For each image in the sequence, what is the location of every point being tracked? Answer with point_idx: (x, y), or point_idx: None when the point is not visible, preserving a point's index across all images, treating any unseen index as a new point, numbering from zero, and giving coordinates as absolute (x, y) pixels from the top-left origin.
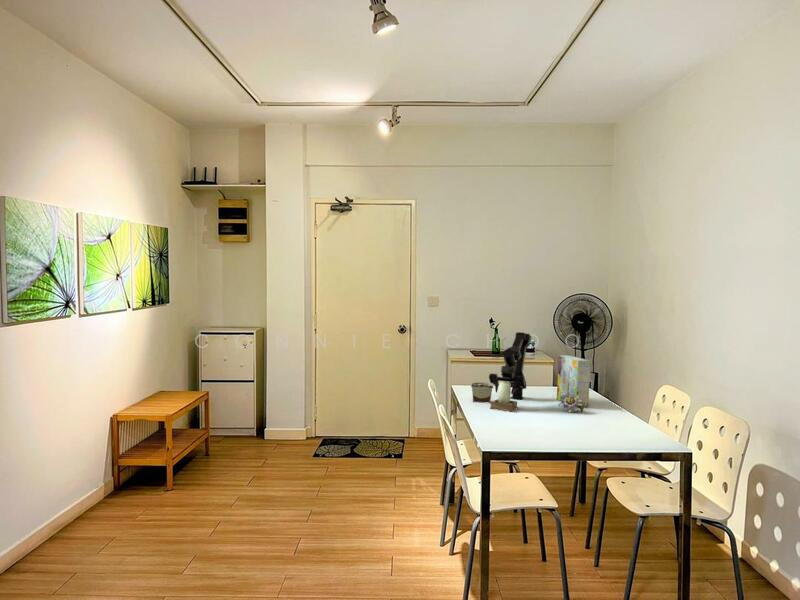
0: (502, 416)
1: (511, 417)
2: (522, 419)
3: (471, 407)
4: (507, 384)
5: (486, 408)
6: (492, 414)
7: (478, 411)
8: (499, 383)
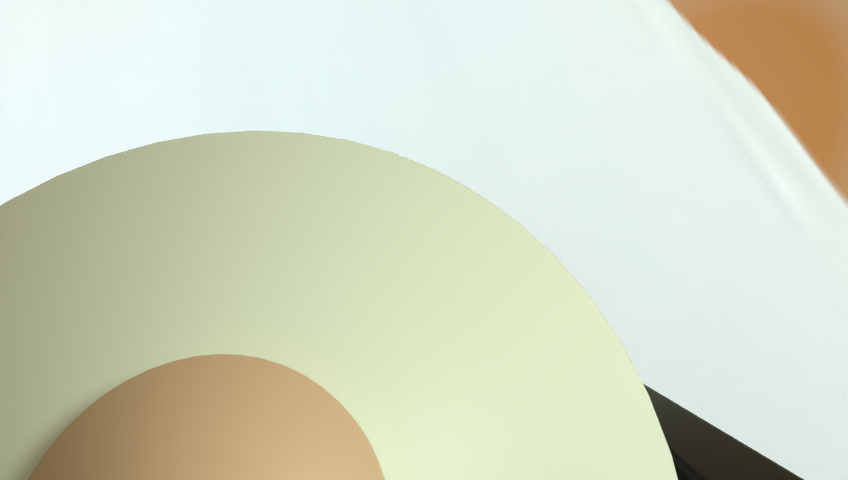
0: (268, 22)
1: (157, 30)
2: (19, 9)
3: (796, 249)
4: (20, 228)
5: (602, 313)
6: (401, 48)
7: (602, 95)
8: (575, 310)
